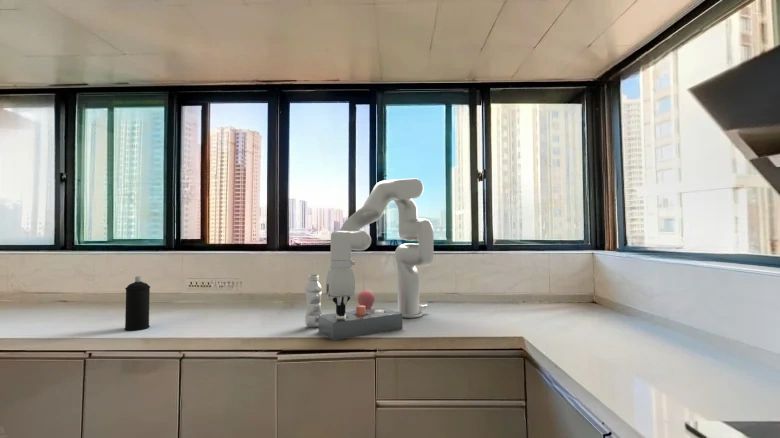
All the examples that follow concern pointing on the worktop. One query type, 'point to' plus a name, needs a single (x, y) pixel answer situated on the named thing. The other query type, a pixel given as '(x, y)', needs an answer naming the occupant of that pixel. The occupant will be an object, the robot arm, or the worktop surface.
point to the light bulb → (366, 299)
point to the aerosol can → (137, 305)
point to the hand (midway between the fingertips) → (340, 315)
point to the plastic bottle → (313, 301)
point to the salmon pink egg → (360, 310)
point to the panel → (360, 324)
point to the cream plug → (379, 311)
